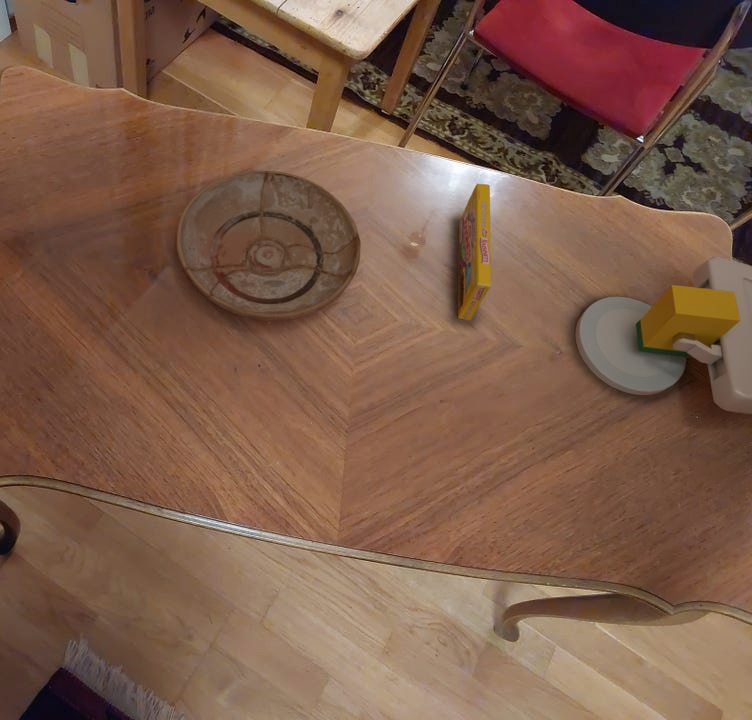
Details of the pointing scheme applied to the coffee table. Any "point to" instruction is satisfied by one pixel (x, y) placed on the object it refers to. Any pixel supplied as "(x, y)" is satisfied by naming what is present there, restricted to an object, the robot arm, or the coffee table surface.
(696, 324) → the sponge
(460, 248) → the candy box
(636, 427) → the coffee table surface
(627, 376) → the plate
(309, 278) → the ceramic bowl
